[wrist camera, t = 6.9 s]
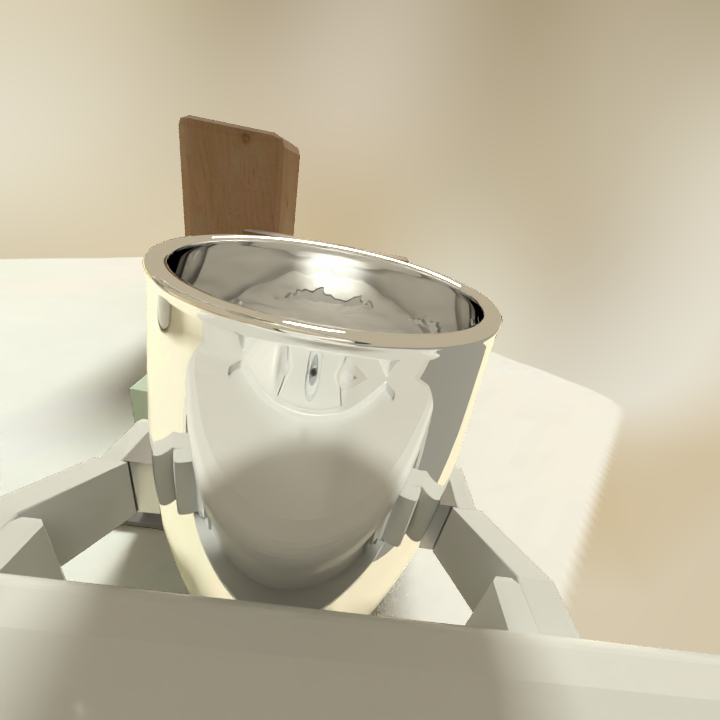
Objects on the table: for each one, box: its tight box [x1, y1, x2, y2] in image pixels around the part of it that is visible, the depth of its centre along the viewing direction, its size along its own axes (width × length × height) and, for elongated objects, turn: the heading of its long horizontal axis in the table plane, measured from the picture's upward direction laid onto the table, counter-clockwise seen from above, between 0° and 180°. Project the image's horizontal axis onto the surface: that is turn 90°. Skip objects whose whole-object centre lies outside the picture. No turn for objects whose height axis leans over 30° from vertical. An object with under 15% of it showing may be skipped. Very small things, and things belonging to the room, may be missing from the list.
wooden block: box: [179, 115, 300, 236], centre depth 39 cm, size 10×10×20 cm
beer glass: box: [142, 234, 502, 615], centre depth 10 cm, size 7×7×15 cm
